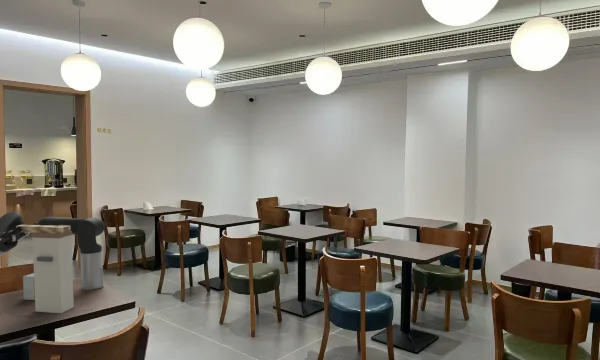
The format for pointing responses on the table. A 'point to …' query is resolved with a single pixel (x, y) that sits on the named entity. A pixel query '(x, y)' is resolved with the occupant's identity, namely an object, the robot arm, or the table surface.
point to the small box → (29, 287)
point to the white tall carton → (53, 272)
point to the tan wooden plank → (46, 229)
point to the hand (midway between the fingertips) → (29, 226)
